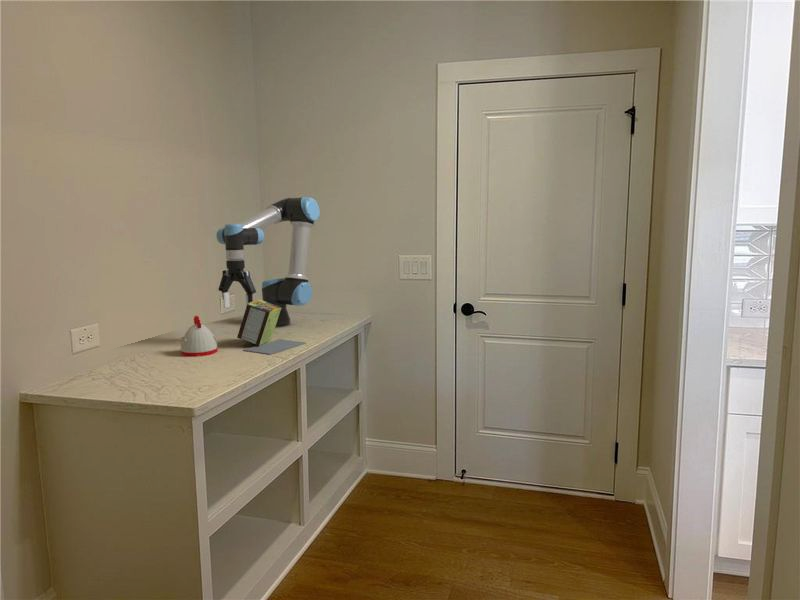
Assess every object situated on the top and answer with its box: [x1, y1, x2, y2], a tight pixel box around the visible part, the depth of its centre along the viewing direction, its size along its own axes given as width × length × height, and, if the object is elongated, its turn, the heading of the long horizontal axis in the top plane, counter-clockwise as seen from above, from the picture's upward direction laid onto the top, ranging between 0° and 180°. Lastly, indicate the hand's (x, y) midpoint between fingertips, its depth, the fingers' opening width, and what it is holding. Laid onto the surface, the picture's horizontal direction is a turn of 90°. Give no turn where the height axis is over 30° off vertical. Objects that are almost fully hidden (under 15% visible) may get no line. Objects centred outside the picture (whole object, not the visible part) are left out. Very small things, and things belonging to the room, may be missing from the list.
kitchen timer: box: [180, 315, 218, 358], centre depth 218 cm, size 14×14×15 cm
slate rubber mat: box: [242, 338, 307, 356], centre depth 226 cm, size 22×15×1 cm
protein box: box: [236, 299, 281, 346], centre depth 232 cm, size 10×15×16 cm
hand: (237, 308), depth 236 cm, fingers open, 13 cm apart
